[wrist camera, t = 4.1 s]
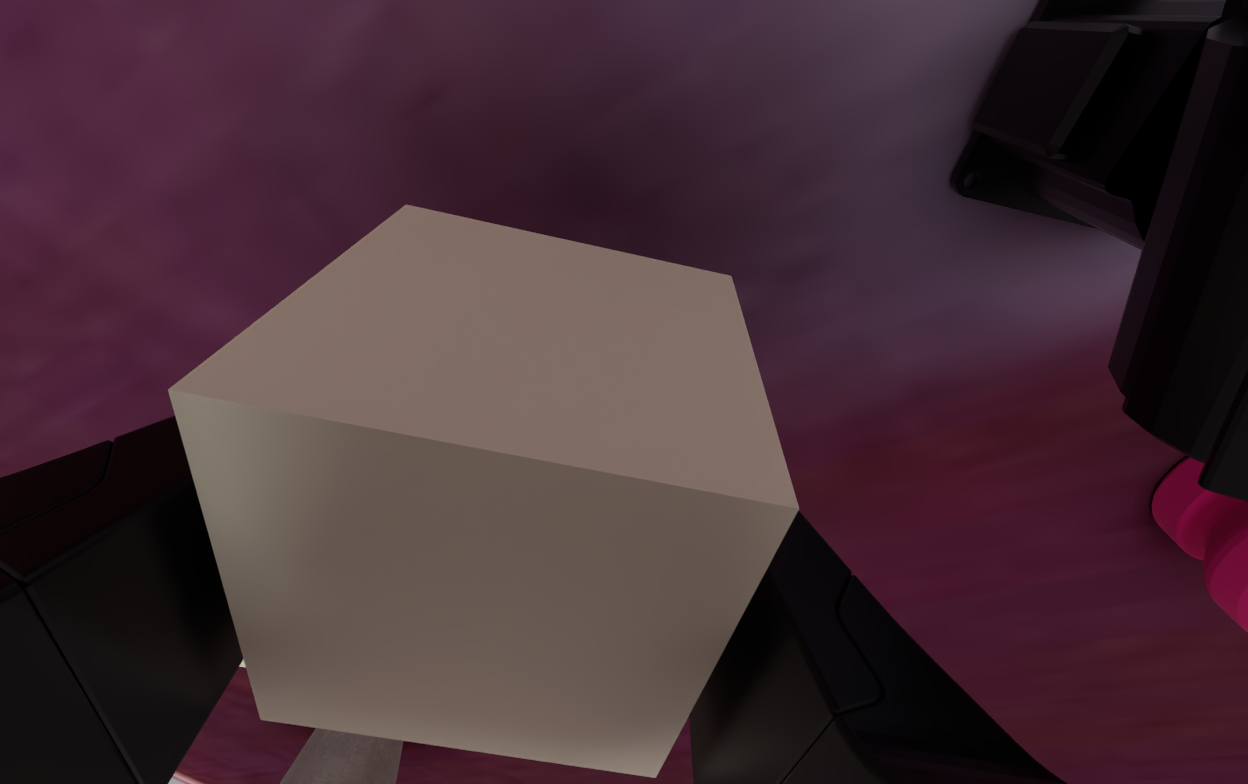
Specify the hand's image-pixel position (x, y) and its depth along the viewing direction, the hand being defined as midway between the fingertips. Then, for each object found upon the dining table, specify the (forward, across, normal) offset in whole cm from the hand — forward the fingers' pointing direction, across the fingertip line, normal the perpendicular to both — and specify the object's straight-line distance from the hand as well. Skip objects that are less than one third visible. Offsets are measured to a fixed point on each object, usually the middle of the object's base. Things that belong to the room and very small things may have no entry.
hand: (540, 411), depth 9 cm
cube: (+1, 0, 0) cm, 1 cm away
